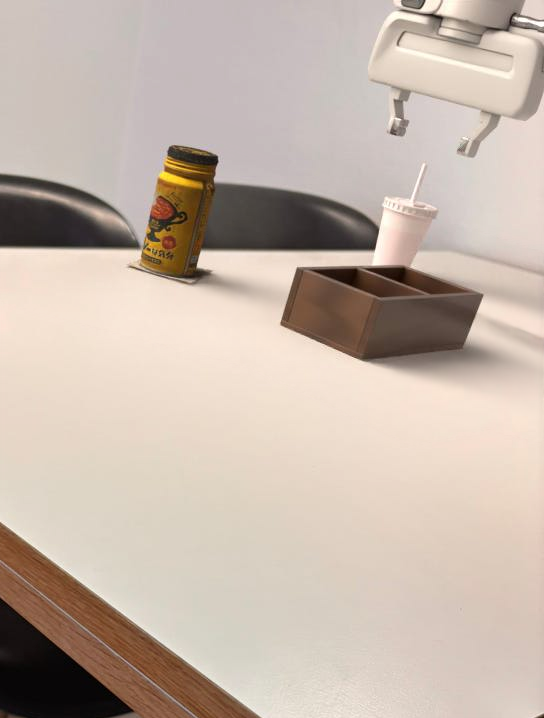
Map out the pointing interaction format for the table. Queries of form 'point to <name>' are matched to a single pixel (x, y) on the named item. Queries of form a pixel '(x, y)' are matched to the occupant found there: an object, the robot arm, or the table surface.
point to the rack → (379, 310)
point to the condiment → (179, 215)
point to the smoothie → (403, 227)
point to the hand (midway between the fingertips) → (429, 145)
